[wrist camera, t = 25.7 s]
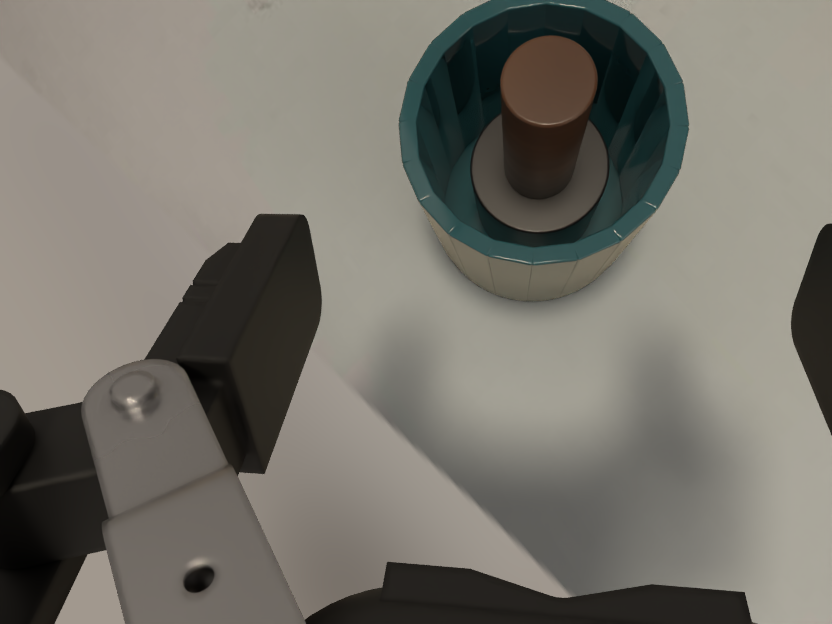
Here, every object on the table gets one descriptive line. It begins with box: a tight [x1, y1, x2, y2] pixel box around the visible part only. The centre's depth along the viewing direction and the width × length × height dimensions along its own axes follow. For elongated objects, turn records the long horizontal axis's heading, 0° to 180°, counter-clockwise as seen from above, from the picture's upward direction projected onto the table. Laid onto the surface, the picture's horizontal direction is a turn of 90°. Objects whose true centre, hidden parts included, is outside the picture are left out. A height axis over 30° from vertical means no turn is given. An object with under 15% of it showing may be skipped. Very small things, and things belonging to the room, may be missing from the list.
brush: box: [470, 35, 610, 247], centre depth 22 cm, size 4×4×11 cm
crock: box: [399, 0, 689, 301], centre depth 23 cm, size 8×8×9 cm
